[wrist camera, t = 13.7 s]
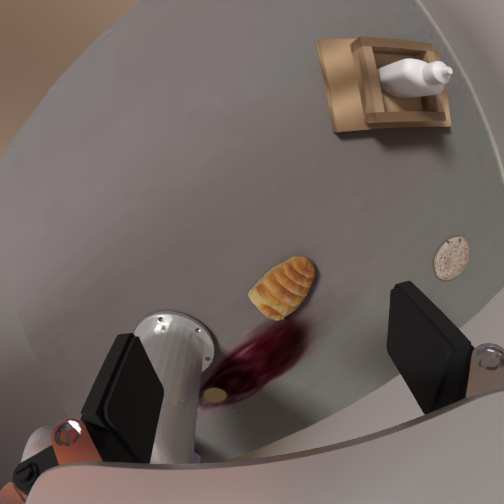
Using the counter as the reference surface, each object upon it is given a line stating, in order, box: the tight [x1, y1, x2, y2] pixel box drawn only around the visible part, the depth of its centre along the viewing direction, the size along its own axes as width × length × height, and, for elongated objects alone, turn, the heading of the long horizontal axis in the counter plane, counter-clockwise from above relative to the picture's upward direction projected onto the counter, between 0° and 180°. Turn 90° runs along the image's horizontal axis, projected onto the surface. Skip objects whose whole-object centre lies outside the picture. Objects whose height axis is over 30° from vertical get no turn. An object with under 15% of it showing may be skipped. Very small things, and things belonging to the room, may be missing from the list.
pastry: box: [248, 256, 315, 321], centre depth 40 cm, size 9×7×4 cm
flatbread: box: [434, 236, 469, 281], centre depth 41 cm, size 8×8×1 cm
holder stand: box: [316, 37, 451, 132], centre depth 30 cm, size 12×18×5 cm, turn 100°
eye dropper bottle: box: [377, 58, 453, 98], centre depth 25 cm, size 4×6×12 cm
